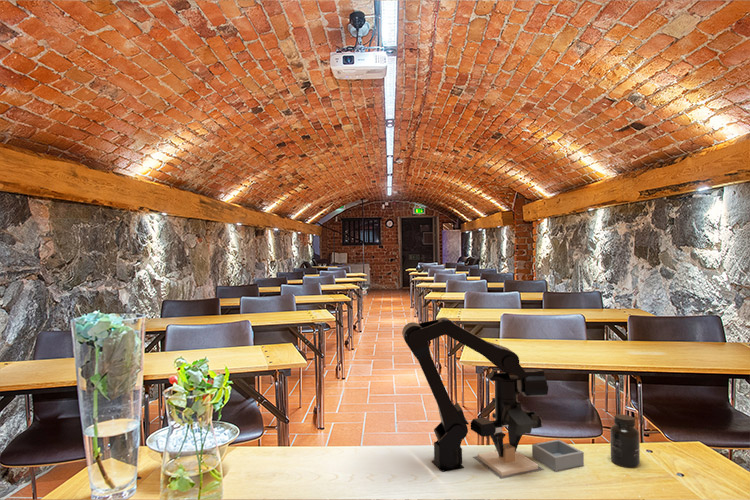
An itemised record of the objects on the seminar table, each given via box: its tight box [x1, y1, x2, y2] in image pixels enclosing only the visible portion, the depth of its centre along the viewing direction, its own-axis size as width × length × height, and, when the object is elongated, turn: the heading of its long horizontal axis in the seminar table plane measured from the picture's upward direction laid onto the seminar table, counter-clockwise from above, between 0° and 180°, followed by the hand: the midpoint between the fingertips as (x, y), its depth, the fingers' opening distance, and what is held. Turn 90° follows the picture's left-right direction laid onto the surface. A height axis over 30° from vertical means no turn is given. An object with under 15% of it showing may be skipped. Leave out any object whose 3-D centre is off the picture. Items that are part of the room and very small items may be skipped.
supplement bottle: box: [609, 413, 641, 468], centre depth 123 cm, size 7×7×12 cm
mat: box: [472, 455, 544, 479], centre depth 122 cm, size 13×13×1 cm
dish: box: [531, 439, 585, 473], centre depth 123 cm, size 9×9×4 cm
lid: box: [477, 442, 539, 476], centre depth 122 cm, size 11×11×4 cm
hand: (506, 455), depth 122 cm, fingers open, 3 cm apart
